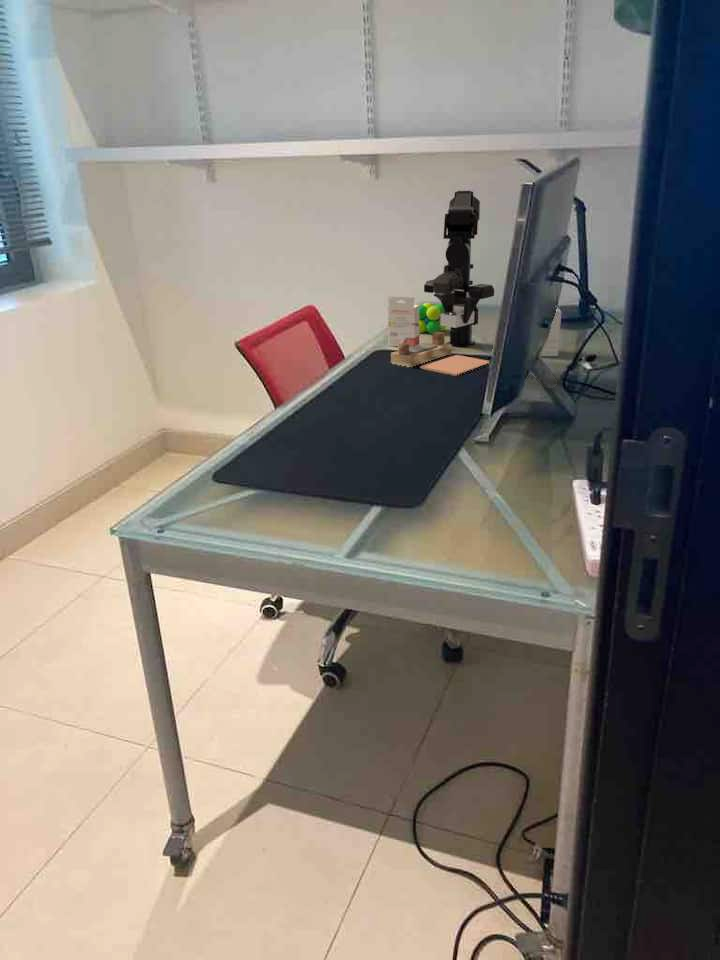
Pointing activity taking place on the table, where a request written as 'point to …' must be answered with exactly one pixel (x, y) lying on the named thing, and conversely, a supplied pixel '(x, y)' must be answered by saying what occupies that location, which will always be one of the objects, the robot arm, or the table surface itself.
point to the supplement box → (553, 336)
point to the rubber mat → (455, 365)
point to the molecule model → (430, 318)
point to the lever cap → (455, 317)
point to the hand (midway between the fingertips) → (457, 322)
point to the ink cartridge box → (403, 321)
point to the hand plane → (421, 351)
